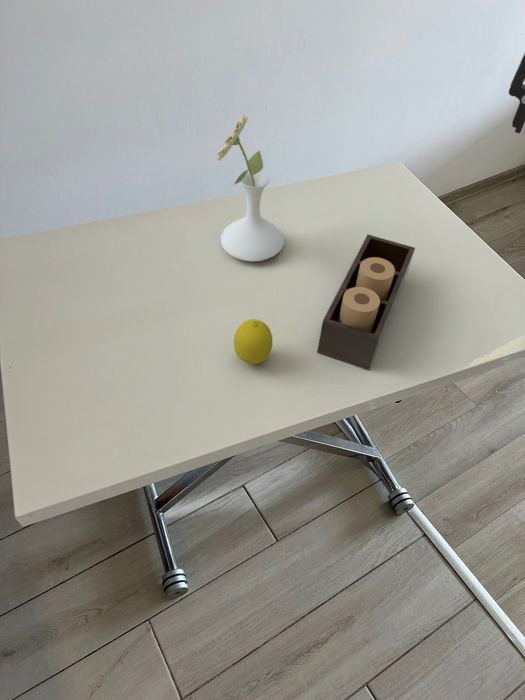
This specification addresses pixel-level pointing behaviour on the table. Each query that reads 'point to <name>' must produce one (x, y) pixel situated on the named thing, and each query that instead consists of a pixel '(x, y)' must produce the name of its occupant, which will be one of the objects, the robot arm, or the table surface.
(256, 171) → the flower in vase
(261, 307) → the table surface
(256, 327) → the lemon
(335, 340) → the rack
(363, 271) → the towel roll
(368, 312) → the roll
